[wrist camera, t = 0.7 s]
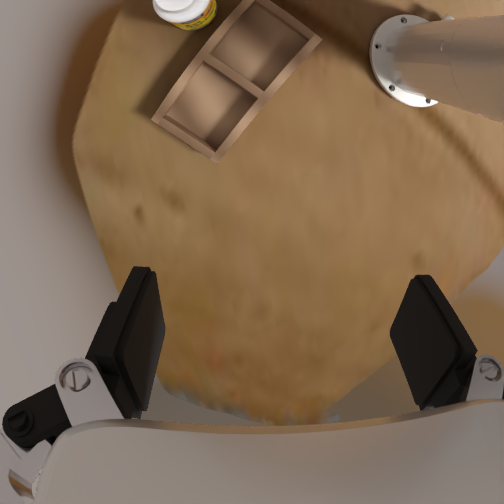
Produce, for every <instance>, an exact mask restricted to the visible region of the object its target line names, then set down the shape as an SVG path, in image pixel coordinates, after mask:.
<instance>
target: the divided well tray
mask: <svg viewBox="0 0 504 504" xmlns="http://www.w3.org/2000/svg"><path fill="white" fill-rule="evenodd" d="M322 40H323V39H321V38H320V37H319V36H318V35H316V34H315V33H314V32H313V31H311V30H310V29H309V28H308V27H306V26H305V25H304V24H302V23H301V22H300V21H298V20H297V19H296V18H294V17H293V16H292V15H290V14H289V13H287V12H286V11H285V10H283V9H282V8H280V7H279V6H277V5H276V4H274V3H273V2H271V1H270V0H242V1H241V3H240V4H239V5H238V6H237V7H236V8H235V9H234V10H233V11H232V12H231V14H230V15H229V16H228V17H227V18H226V19H225V20H224V22H223V23H222V24H221V25H220V26H219V28H218V29H217V30H216V31H215V32H214V33H213V35H212V36H211V37H210V38H209V40H208V41H207V42H206V43H205V45H204V46H203V47H202V48H201V50H200V51H199V52H198V53H197V55H196V56H195V57H194V59H193V60H192V61H191V63H190V64H189V65H188V67H187V68H186V69H185V71H184V72H183V73H182V75H181V76H180V78H179V79H178V80H177V82H176V83H175V85H174V86H173V87H172V89H171V90H170V92H169V93H168V95H167V96H166V98H165V99H164V101H163V102H162V104H161V105H160V107H159V108H158V110H157V111H156V113H155V114H154V116H153V117H152V119H151V120H152V121H153V122H155V123H156V124H158V125H159V126H161V127H163V128H164V129H166V130H167V131H169V132H170V133H172V134H173V135H175V136H176V137H178V138H179V139H181V140H182V141H184V142H185V143H187V144H188V145H190V146H191V147H193V148H194V149H196V150H197V151H199V152H200V153H202V154H203V155H205V156H206V157H208V158H209V159H210V160H212V161H213V162H215V163H216V164H218V162H219V161H220V160H221V159H222V157H223V156H224V155H225V153H226V152H227V151H228V150H229V148H230V147H231V146H232V144H233V143H234V142H235V141H236V139H237V138H238V137H239V136H240V134H241V133H242V132H243V131H244V129H245V128H246V127H247V126H248V124H249V123H250V122H251V121H252V120H253V118H254V117H255V116H256V115H257V113H258V112H259V111H260V110H261V109H262V107H263V106H264V105H265V104H266V103H267V101H268V100H269V99H270V98H271V97H272V96H273V94H274V93H275V92H276V91H277V90H278V89H279V87H280V86H281V85H282V84H283V83H284V82H285V81H286V79H287V78H288V77H289V76H290V75H291V74H292V73H293V71H294V70H295V69H296V68H297V67H298V66H299V65H300V64H301V63H302V61H303V60H304V59H305V58H306V57H307V56H308V55H309V54H310V53H311V52H312V51H313V49H314V48H315V47H316V46H317V45H318V44H319V43H320V42H321V41H322Z"/></svg>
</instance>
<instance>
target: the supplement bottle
mask: <svg viewBox="0 0 504 504" xmlns="http://www.w3.org/2000/svg"><path fill="white" fill-rule="evenodd" d="M153 7H154V10H155V11H156V13H157V14H158V15H159V16H160V17H161V18H162V19H164V20H166V21H168V22H170V23H171V24H173V25H175V26H177V27H179V28H181V29H183V30H188V31H194V30H199V29H202V28H204V27H206V26H207V25H209V24H210V23H211V22H212V21H213V19H214V18H215V16H216V13H217V3H216V0H153Z"/></svg>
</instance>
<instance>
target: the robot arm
mask: <svg viewBox="0 0 504 504" xmlns="http://www.w3.org/2000/svg"><path fill="white" fill-rule="evenodd" d="M401 20H402V22H401ZM375 45H377V49H376V47H375ZM369 55H370V63H371V67H372V70H373V73H374V75H375V77H376V79H377V81H378V82H379V84H380V86H381V87H382V88H383V89H384V90H385V91H386V93H388V94H389V95H390V96H391V97H392V98H394V99H395V100H397V101H399V102H401V103H403V104H406V105H409V106H414V107H428V106H432V105H434V104H436V103H438V102H441V103H444V104H447V105H451V106H454V107H457V108H460V109H463V110H466V111H469V112H472V113H474V114H477V115H480V116H483V117H485V118H488V119H491V120H494V121H497V122H503V123H504V15H500V16H484V17H470V18H458V19H454V18H453V17H452V16H451V15H449V14H446V15H445V16H444V17H443V18H442V19H441V20H440V21H432V22H429V21H428V20H426V19H424V18H421V17H419V16H414V15H398V16H394V17H391V18H389V19H387V20H385V21H384V22H382V23H381V24H380V25H379V26H378V27H377V29H376V30H375V32H374V34H373V36H372V39H371V42H370V49H369ZM389 86H391V88H390V89H389ZM425 99H426V101H425ZM164 336H165V323H164V318H163V312H162V307H161V301H160V295H159V289H158V283H157V277H156V273H155V272H154V271H151V269H150V268H149V267H137V266H134V267H133V268H132V270H131V272H130V274H129V276H128V278H127V281H126V283H125V285H124V287H123V289H122V291H121V293H120V295H119V297H118V300H117V302H111V303H110V305H109V306H108V308H107V310H106V312H105V314H104V316H103V319H102V321H101V323H100V326H99V327H98V330H97V332H96V334H95V336H94V339H93V341H92V343H91V345H90V348H89V350H88V352H87V355H86V357H85V359H84V358H74V359H71V360H68V361H67V362H65V363H63V364H62V365H61V366H60V367H59V369H58V370H57V372H56V375H55V384H54V385H52V386H50V387H48V388H46V389H44V390H42V391H40V392H38V393H36V394H34V395H33V396H31V397H28V398H26V399H25V400H23V401H21V402H19V403H17V404H15V405H13V406H12V407H10V408H9V409H8V410H7V412H6V413H5V415H4V417H3V423H2V425H3V427H2V428H1V429H0V504H504V369H503V366H502V365H501V363H500V362H499V361H498V360H497V359H496V358H494V357H493V356H490V355H481V356H479V357H478V358H476V356H475V354H476V352H477V351H478V350H477V349H476V347H475V345H474V343H473V342H472V340H471V339H470V336H469V335H468V333H467V331H466V330H465V328H464V326H463V325H462V323H461V322H460V320H459V318H458V316H457V315H456V313H455V312H454V310H453V308H452V307H451V305H450V304H449V302H448V301H447V299H446V297H445V296H444V294H443V293H442V291H441V290H440V288H439V287H438V285H437V284H436V282H435V281H434V279H433V278H432V277H431V276H430V275H416V276H415V277H414V279H411V281H410V283H409V286H408V288H407V291H406V293H405V296H404V298H403V301H402V303H401V305H400V308H399V310H398V313H397V315H396V317H395V319H394V322H393V324H392V326H391V329H390V338H391V340H392V343H393V345H394V348H395V350H396V353H397V355H398V358H399V360H400V363H401V366H402V368H403V371H404V373H405V376H406V379H407V382H408V384H409V387H410V389H411V392H412V395H413V398H414V401H415V403H416V404H417V405H419V407H420V410H421V411H418V412H413V413H408V414H401V415H395V416H390V417H382V418H375V419H368V420H360V421H351V422H341V423H330V424H316V425H298V426H220V425H203V424H186V423H175V422H164V421H151V420H140V418H141V414H142V411H147V408H148V404H149V399H150V395H151V390H152V386H153V381H154V377H155V373H156V369H157V365H158V361H159V356H160V352H161V348H162V344H163V340H164ZM131 418H138V419H131ZM41 469H42V472H41V474H40V473H39V471H40V470H41ZM39 475H40V478H39V481H38V485H37V489H36V493H35V497H33V495H32V490H31V489H32V484H33V482H34V480H35V479H36V478H37V477H38V476H39Z"/></svg>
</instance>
